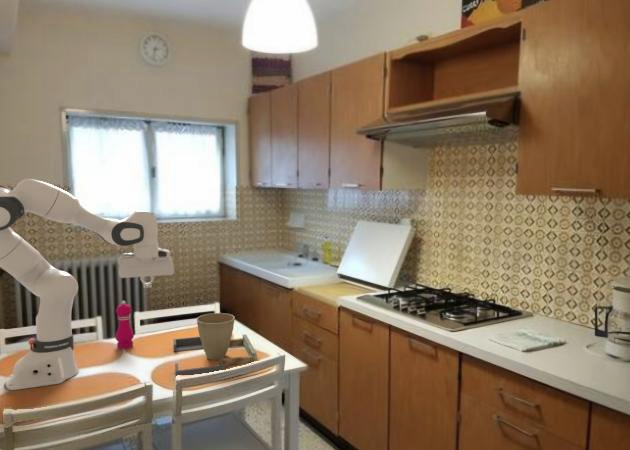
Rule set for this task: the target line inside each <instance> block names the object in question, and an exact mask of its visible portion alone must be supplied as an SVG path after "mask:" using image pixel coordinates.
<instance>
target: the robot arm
mask: <svg viewBox="0 0 630 450" xmlns="http://www.w3.org/2000/svg"><path fill="white" fill-rule="evenodd" d="M25 213H32V214H35V215H37V216H39V217H42V218H44V219H46V220H49V221H53V222H57V223H61V224H72V225H76V226H79V227H81V228H84V229H86V230H87V231H91V232H93V233H96V234H97V236H98V237H100V238H101V240H103V241H104V243H107V244H109V245H115V246H118V247H128V246H131V245H133V250H134V251H133V252H129V253H121V254H119V255H118V256H117V264H118V265H119V267H118V276H119V278H121V279H125V278H127V279H129V278H139V281H141V283H142V285H143V289H151V288H152V287H153V286H152V283H154V280H155V277H161V276H173V275H174V274H175V266H174V261H173V258H172V257H171V251H170V250H169V249H167V248H164V247H163V248H162V247H159V243H158V233H159V230H158V228H159V227H158V222H157V221H158V220H157V216H156V215H155V214H154V212H152V211H151V212H150V211H144V210H135V211H134V212H133V213H132V214H130V215H129V216H127V217H125V218H122V219H118V218H106V217H103V216H100V215H98V214H96V213H95V212H91V211H89V210H88V209H85V208H84V207H83V206H82V205H81V204H80V202H79V198H77V197H75V196H74V195H72V194H71V193H69V192H68V191H65V190H63V189H62V188H59V187H57V186H54V185H53V184H50V183H47V182H44V181H42V180H37V179H34V178H24V179H23V180H21V181H19V182H18V183H17V184H16V186H15V187H14V188H13V189H12V190H11V188H9V187H7V186H5V185H0V268H1V269H3V270H4V271H5V272H7V273H8V274H9V275H11V276H12V277H13V278H14V279H15V280H16V281H17V282H19V283H20V284H21V285H22V286H23V287H24V288H26V290H28V291H29V292H30V293H32V294H33V295H35V296H36V297H38V298H39V302H40V303H39V309H38V313H37V314H36V316H35V326H36V327H35V328H36V331H35V332H36V338H30V339H29V340H28V345H29V346H30V347H29V348H30V350H29V351H28V352H27V353H26V354H25V355H23V356H22V357H21V358H19V359H18V360H17V361H16V362H15V364H14V367H13V370H12V373H11V374H10V375H9V376H8V377H6V380H5V388H6V389H7V390H10V391H16V390H17V391H18V390H24V389H30V388H31V389H33V388H38V387H45V386H52V385H58V384H62V383H64V382H65V381H66V380H67V379H70V378H73V377H74V376H76V375H77V374H78V373H79V368H78V366H77V362H76V358H75V353H74V349H75V339H74V335H73V333H72V328H73V327H72V310H73V304H74V299H75V296H76V295H77V294H78V292H79V284H78V281H77V279H76V278H75V277H74V276H73V275H72V274H70V273H69V272H67V271H65V270H61V269H58V268H56V267H55V266H53V265H52V264H50V263H49V262H48V261H47V260H46V259H45V258H44V256H43V255H42V254H41V252H40V251H38V249H36V248H35V247H34V246H32V245H31V244H30V243H29V242H27V241H26V240H25V239H24V238H23V237H22V236H20V235H19V234H18V233H17V232H15V231H14V230H13V229H12V228H11V226H13V225H15V223H17V221H18V220H19V219H21V218H22V217H23V216H24V215H25ZM145 277H150V281H149V282H146V281H145Z"/></svg>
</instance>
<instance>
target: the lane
mask: <svg viewBox="0 0 630 450" xmlns="http://www.w3.org/2000/svg"><path fill="white" fill-rule="evenodd" d="M235 346H236V347H237V346H243V347H244V348H245V351H246V353H247V354H248V356H238V357H236V356H235V357H229V358H222V361H223V364H224V368H227V367H231V366H232V367H233V366H243V365H248V364H247V363H251V362H254V361H257V351H256V349H255V347H254V346H253V344H252V343H251V341H250V339H249V337H248V335H247V334H242V338H240V337H239V338H231V340H230V344H229V347H235ZM242 364H243V365H242ZM251 364H252V363H251Z"/></svg>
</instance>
